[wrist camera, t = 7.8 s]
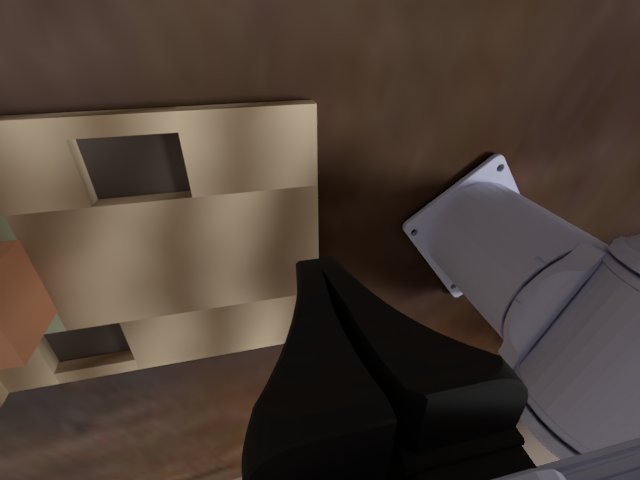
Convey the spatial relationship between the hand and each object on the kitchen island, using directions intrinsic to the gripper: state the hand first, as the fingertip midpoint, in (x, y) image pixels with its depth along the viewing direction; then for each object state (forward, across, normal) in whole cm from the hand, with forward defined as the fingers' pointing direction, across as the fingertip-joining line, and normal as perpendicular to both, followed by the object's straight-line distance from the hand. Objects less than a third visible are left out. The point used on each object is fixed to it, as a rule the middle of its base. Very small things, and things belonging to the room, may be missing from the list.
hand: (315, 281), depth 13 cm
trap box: (+10, +9, +4) cm, 14 cm away
